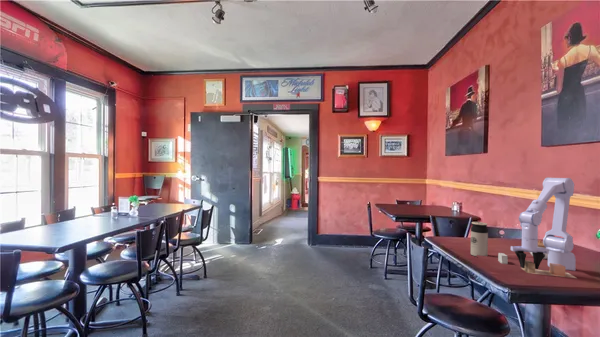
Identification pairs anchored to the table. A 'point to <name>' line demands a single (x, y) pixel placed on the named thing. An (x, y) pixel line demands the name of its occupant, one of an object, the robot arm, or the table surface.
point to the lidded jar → (541, 245)
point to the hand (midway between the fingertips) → (529, 267)
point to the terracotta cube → (557, 269)
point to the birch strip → (531, 269)
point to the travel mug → (479, 239)
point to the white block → (502, 258)
